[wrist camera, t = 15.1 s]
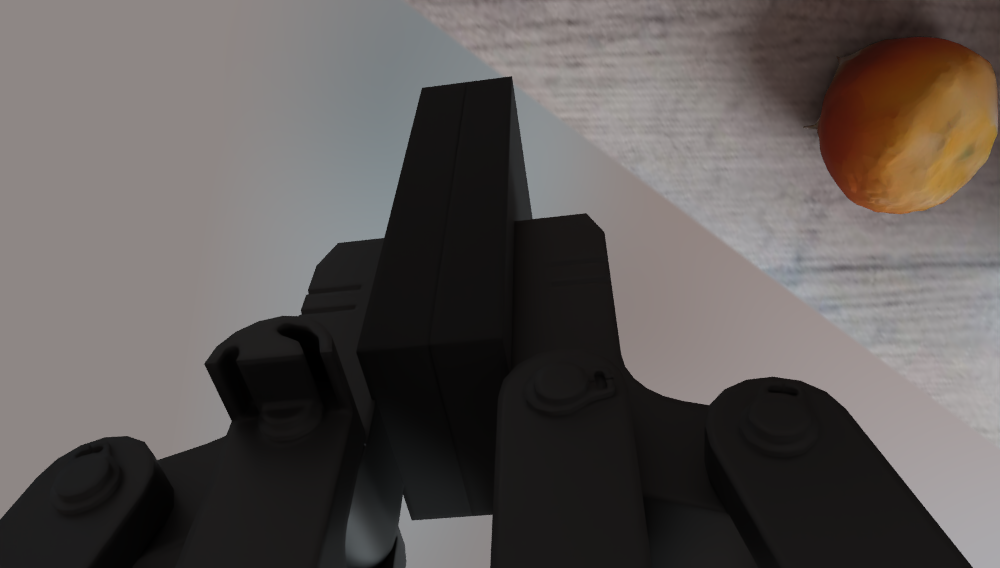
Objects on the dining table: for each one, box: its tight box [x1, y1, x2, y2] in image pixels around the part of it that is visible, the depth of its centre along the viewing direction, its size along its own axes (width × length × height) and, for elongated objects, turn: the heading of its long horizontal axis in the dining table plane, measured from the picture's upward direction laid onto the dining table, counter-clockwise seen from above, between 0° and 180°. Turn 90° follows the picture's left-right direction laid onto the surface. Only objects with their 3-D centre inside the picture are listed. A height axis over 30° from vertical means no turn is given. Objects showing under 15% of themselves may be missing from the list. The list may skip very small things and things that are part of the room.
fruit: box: [803, 37, 998, 214], centre depth 39 cm, size 8×8×8 cm
